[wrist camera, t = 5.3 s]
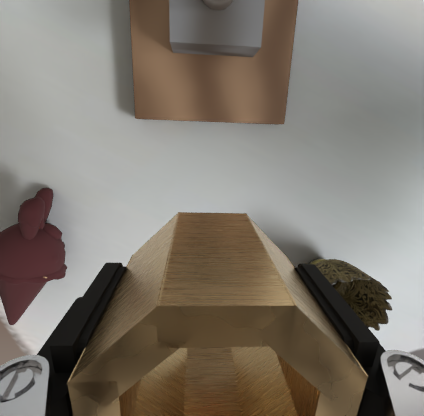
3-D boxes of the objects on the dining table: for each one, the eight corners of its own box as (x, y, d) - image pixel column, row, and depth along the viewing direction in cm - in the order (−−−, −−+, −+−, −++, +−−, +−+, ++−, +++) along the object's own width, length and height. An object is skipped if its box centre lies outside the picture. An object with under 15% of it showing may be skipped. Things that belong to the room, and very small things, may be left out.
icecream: (43, 351, 26) (80, 212, 23) (-53, 348, 23) (-23, 189, 20) (58, 306, 32) (89, 193, 29) (-16, 300, 29) (11, 174, 26)
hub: (292, 213, 10) (389, 304, 5) (274, 341, 12) (332, 502, 7) (129, 211, 10) (52, 305, 5) (137, 343, 12) (90, 515, 7)
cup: (304, 304, 34) (336, 356, 26) (277, 263, 31) (303, 307, 24) (355, 275, 33) (404, 320, 25) (331, 231, 31) (376, 265, 23)
